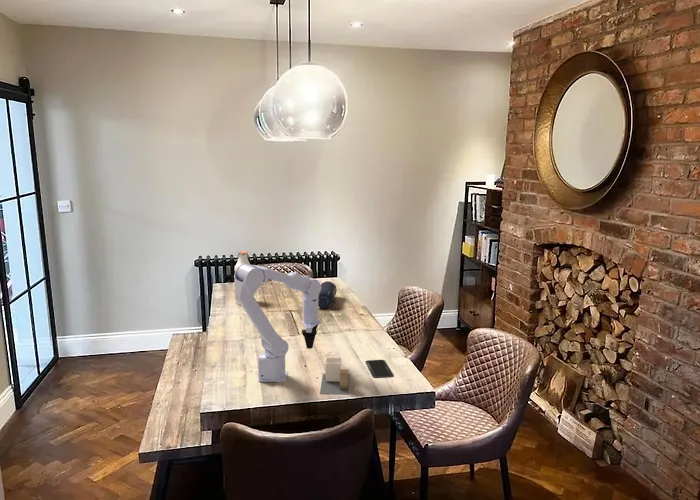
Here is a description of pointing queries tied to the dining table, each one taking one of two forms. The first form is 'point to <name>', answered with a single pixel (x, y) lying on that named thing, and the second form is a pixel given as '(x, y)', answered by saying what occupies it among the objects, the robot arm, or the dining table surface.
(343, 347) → the dining table surface
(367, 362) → the phone
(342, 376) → the bronze post
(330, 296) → the portable speaker
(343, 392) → the base board
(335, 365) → the beige block
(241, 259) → the fruit juice
